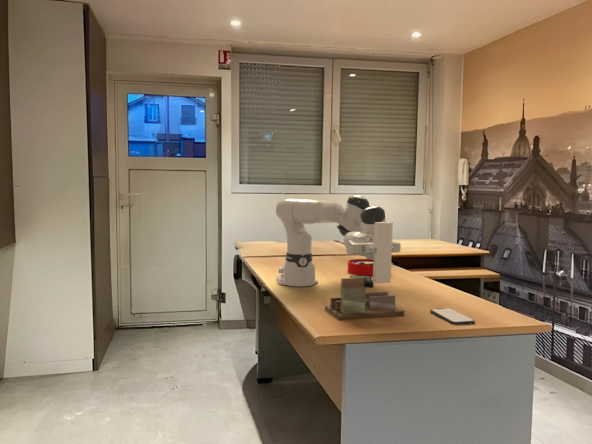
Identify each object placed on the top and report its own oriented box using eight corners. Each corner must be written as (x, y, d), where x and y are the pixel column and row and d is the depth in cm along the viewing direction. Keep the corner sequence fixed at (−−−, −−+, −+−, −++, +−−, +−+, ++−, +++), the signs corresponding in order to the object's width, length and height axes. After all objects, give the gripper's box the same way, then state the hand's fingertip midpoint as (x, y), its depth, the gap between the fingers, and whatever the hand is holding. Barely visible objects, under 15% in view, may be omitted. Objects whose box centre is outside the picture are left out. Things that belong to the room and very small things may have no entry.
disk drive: (373, 288, 212) (370, 281, 227) (374, 282, 212) (370, 275, 227) (350, 287, 213) (349, 280, 228) (350, 281, 213) (349, 275, 227)
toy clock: (356, 265, 235) (342, 259, 254) (356, 277, 235) (341, 270, 254) (393, 264, 240) (376, 258, 259) (392, 276, 241) (375, 269, 260)
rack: (324, 309, 173) (325, 293, 172) (385, 305, 180) (386, 290, 180) (339, 319, 160) (339, 302, 159) (404, 315, 167) (404, 298, 167)
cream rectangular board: (372, 281, 173) (374, 222, 171) (387, 281, 175) (389, 222, 173) (375, 283, 170) (377, 222, 169) (390, 282, 172) (392, 222, 170)
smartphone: (476, 325, 159) (450, 311, 175) (476, 320, 159) (450, 307, 175) (453, 327, 157) (428, 313, 173) (453, 322, 157) (428, 308, 172)
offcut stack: (340, 312, 164) (341, 278, 163) (361, 310, 167) (362, 277, 166) (343, 314, 161) (344, 279, 160) (364, 313, 164) (365, 279, 163)
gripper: (390, 252, 187) (408, 257, 174) (342, 253, 181) (358, 259, 168) (390, 236, 187) (409, 241, 174) (343, 237, 180) (358, 242, 167)
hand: (383, 250), depth 171 cm, fingers closed on cream rectangular board, 6 cm apart
